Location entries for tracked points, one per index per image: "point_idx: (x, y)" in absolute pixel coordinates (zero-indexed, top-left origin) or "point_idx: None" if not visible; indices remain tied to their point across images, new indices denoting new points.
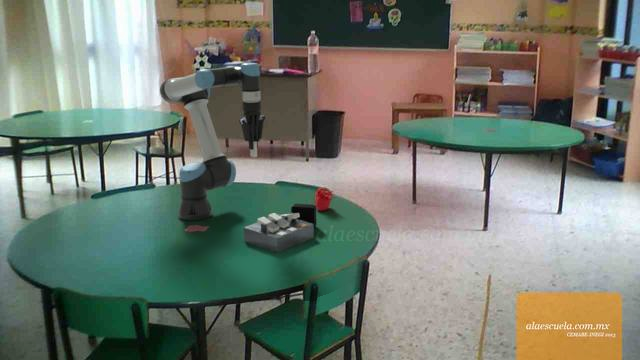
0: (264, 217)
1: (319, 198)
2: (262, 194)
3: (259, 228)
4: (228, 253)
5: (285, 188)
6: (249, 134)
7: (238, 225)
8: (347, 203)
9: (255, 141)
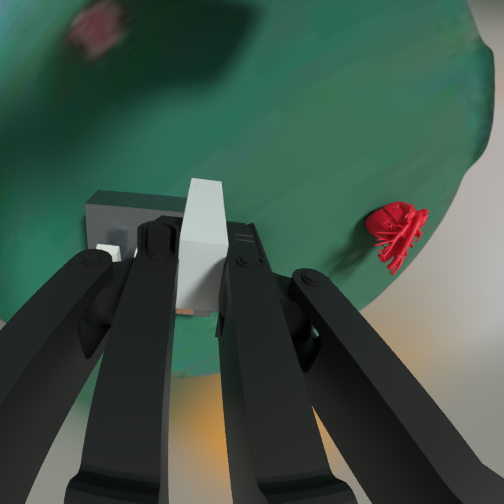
0: (115, 257)
1: (385, 231)
2: (420, 26)
3: (105, 241)
4: (39, 211)
5: (470, 68)
6: (84, 383)
7: (171, 96)
8: (424, 241)
9: (216, 297)
